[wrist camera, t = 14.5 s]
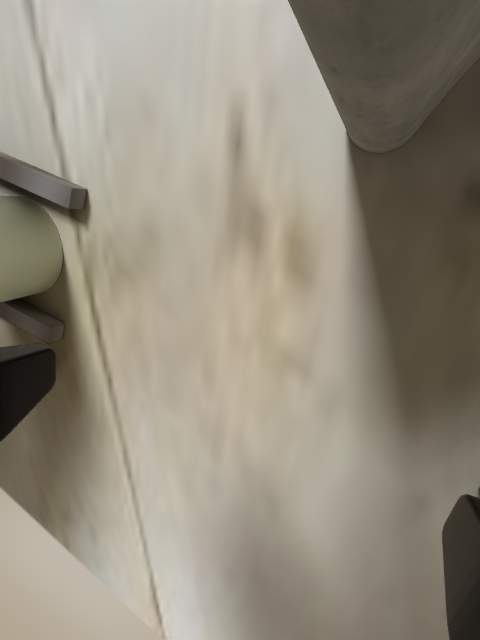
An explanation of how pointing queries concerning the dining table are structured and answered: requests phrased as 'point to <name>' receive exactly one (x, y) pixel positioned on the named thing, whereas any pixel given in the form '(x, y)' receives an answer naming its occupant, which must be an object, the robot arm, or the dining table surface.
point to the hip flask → (389, 60)
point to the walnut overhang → (57, 193)
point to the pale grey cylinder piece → (27, 248)
